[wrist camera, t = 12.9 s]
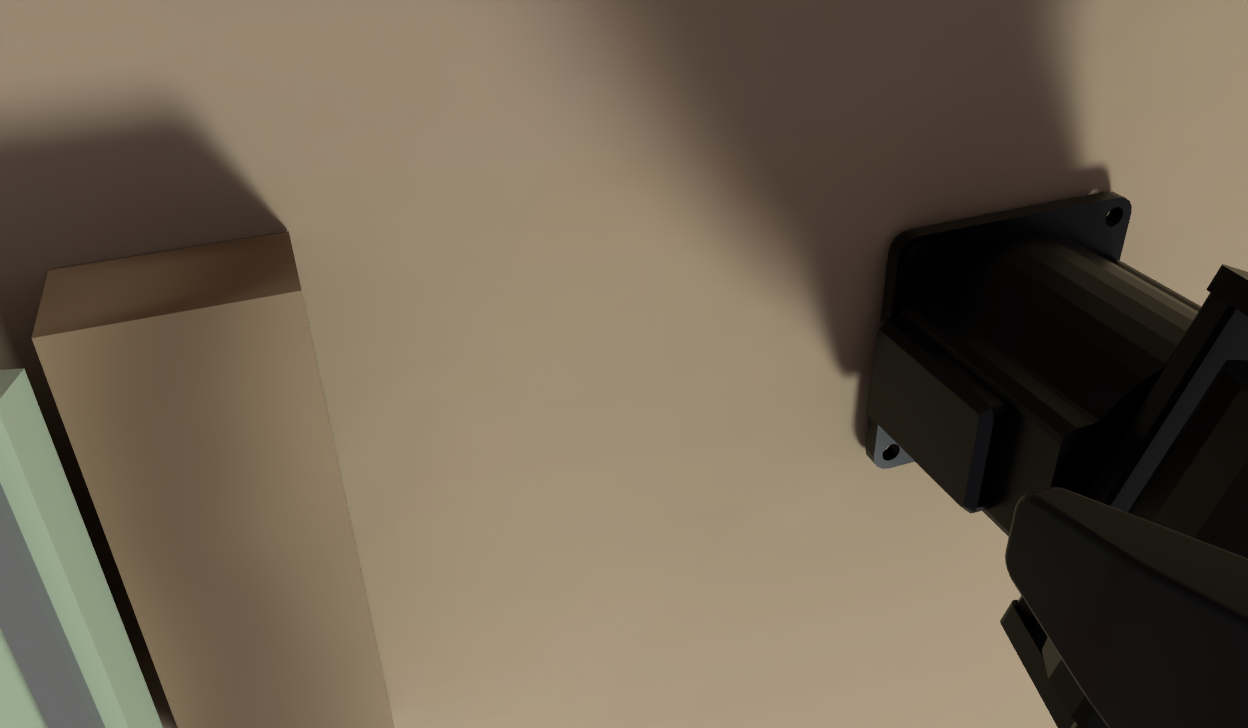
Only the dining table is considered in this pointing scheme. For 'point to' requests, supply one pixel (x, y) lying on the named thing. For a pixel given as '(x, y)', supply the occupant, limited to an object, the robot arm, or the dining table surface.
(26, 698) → the trapdoor
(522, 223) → the dining table surface
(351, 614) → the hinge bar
